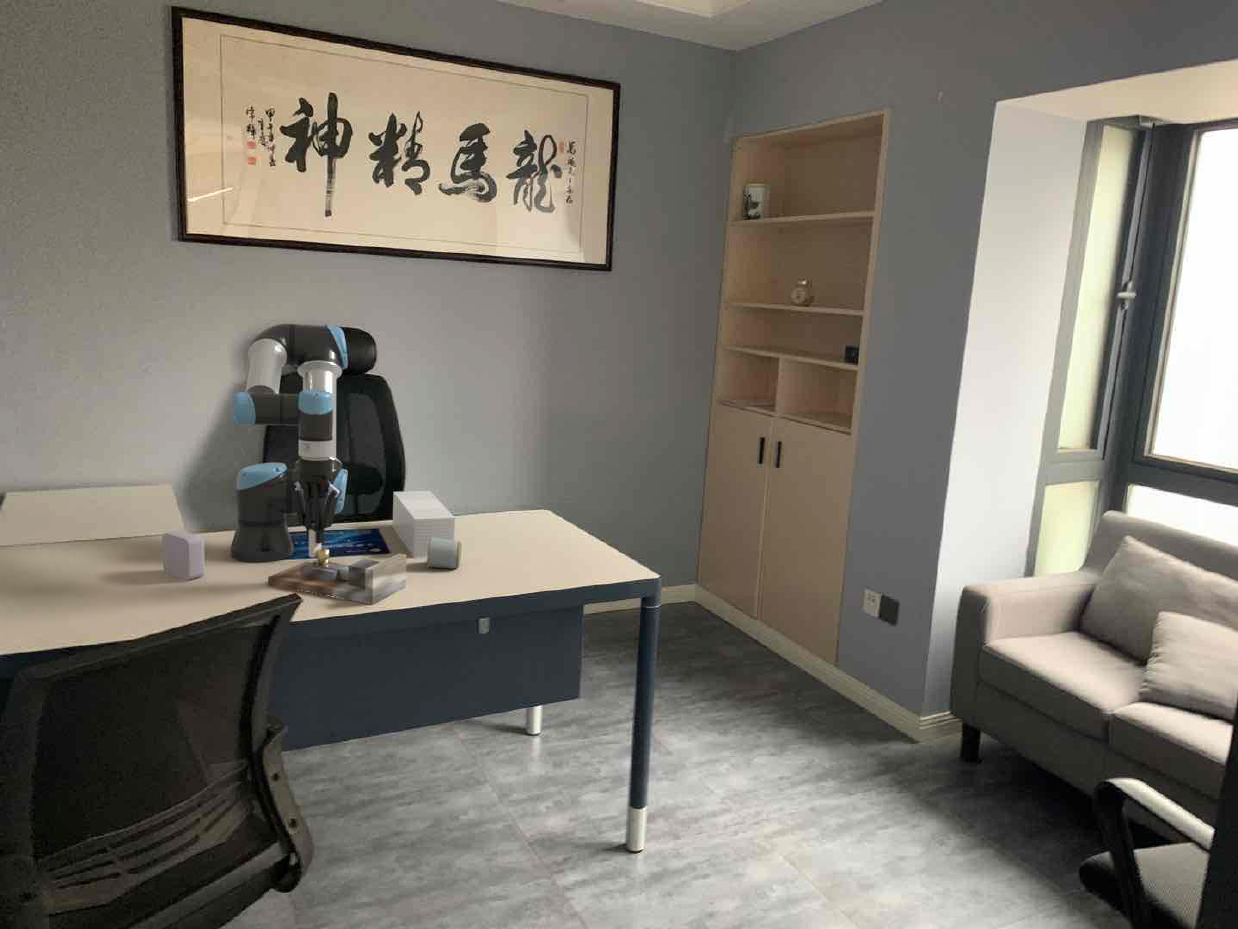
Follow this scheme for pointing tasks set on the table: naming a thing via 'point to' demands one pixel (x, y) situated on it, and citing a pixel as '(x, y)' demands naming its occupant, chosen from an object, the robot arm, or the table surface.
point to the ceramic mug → (444, 553)
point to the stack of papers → (421, 520)
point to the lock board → (362, 585)
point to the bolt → (324, 563)
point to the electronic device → (183, 555)
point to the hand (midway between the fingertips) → (315, 555)
